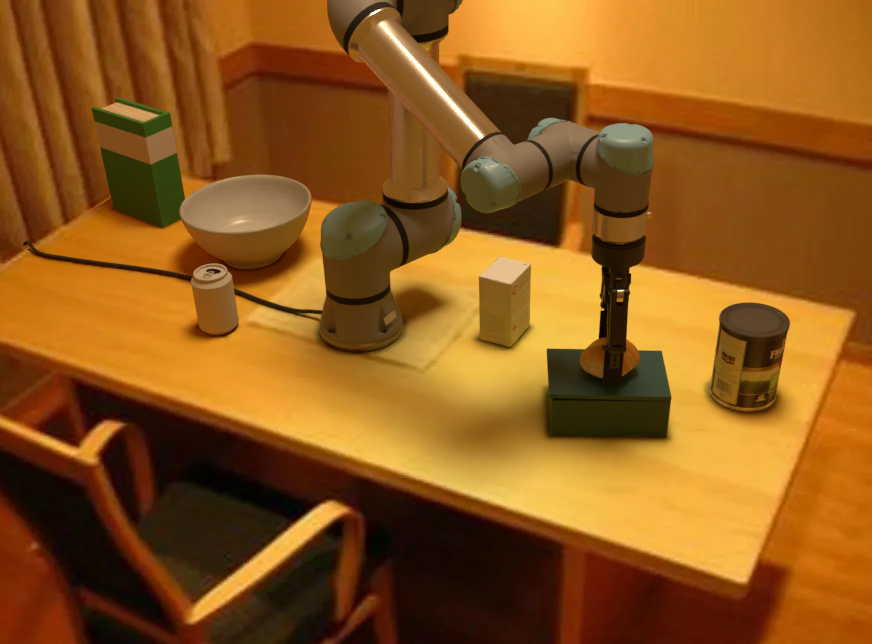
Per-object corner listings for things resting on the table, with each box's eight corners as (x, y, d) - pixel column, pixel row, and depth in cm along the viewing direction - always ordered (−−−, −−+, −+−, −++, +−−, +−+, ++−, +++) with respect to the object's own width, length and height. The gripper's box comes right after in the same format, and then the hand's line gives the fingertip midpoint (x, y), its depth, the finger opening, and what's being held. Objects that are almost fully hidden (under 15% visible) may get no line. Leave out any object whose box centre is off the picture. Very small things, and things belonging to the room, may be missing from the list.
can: (246, 320, 203) (238, 264, 196) (226, 340, 198) (217, 283, 191) (212, 313, 206) (203, 258, 199) (192, 333, 201) (181, 277, 194)
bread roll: (647, 360, 167) (649, 338, 165) (616, 386, 162) (617, 364, 160) (601, 342, 172) (603, 321, 170) (569, 367, 167) (571, 346, 165)
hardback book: (113, 208, 248) (91, 107, 234) (138, 196, 252) (118, 97, 239) (162, 227, 238) (143, 124, 224) (188, 215, 242) (170, 112, 228)
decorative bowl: (162, 264, 224) (151, 211, 217) (252, 215, 240) (245, 164, 233) (253, 300, 209) (244, 245, 202) (343, 245, 225) (338, 192, 218)
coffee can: (783, 384, 175) (797, 310, 167) (766, 418, 168) (780, 343, 160) (719, 368, 180) (730, 295, 172) (700, 401, 173) (710, 327, 165)
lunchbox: (550, 435, 168) (552, 400, 164) (548, 388, 178) (549, 354, 175) (666, 437, 166) (671, 401, 162) (657, 389, 176) (661, 355, 172)
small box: (498, 318, 198) (499, 255, 190) (530, 326, 194) (532, 262, 187) (478, 339, 192) (477, 275, 185) (510, 348, 189) (511, 283, 182)
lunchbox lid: (549, 398, 164) (549, 393, 164) (546, 352, 174) (546, 348, 174) (670, 401, 162) (671, 396, 162) (661, 354, 172) (661, 350, 172)
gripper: (654, 270, 145) (641, 405, 158) (638, 199, 162) (627, 326, 175) (597, 271, 146) (589, 405, 159) (587, 200, 163) (580, 326, 176)
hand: (609, 363), depth 167 cm, fingers closed on bread roll, 9 cm apart
